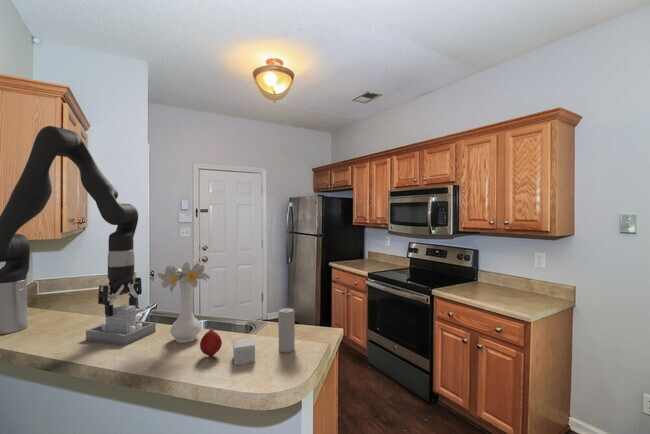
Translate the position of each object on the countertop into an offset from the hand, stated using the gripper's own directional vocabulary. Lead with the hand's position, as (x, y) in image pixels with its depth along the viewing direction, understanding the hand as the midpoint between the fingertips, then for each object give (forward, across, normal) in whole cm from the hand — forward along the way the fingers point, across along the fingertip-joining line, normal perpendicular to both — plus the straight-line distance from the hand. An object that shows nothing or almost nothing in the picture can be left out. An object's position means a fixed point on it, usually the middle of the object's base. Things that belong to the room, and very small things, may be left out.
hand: (121, 312), depth 107 cm
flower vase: (+8, -3, +22) cm, 24 cm away
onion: (+8, +5, +38) cm, 39 cm away
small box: (+8, +4, +48) cm, 49 cm away
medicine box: (+7, 0, 0) cm, 7 cm away
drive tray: (+8, 0, 0) cm, 8 cm away
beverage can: (+7, -5, +57) cm, 58 cm away
